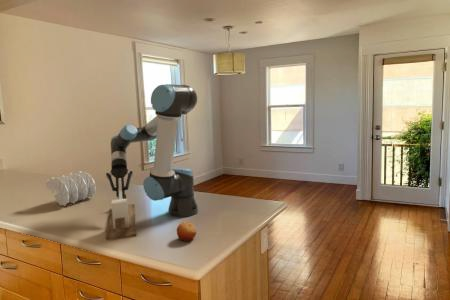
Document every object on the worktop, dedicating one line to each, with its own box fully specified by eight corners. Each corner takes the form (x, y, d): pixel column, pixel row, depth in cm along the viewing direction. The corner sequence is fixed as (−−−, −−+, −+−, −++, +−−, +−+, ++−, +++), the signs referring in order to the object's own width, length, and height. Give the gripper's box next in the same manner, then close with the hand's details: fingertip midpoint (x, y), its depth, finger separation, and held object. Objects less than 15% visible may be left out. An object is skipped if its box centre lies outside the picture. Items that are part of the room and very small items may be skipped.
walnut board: (134, 206, 188) (133, 192, 187) (136, 236, 144) (134, 217, 143) (112, 208, 185) (110, 194, 184) (106, 240, 141) (104, 221, 140)
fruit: (177, 231, 144) (185, 216, 142) (192, 241, 143) (201, 226, 141) (169, 238, 137) (177, 222, 135) (185, 249, 135) (194, 234, 133)
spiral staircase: (96, 203, 210) (60, 213, 188) (78, 189, 217) (41, 197, 195) (104, 178, 205) (68, 185, 183) (85, 164, 212) (48, 169, 190)
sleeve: (129, 223, 155) (127, 198, 154) (129, 227, 149) (127, 202, 148) (114, 225, 153) (112, 200, 152) (113, 229, 148) (111, 203, 146)
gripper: (132, 165, 179) (135, 204, 165) (106, 167, 176) (107, 207, 162) (131, 156, 173) (134, 196, 160) (104, 158, 170) (105, 199, 156)
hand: (120, 202), depth 161 cm, fingers closed
